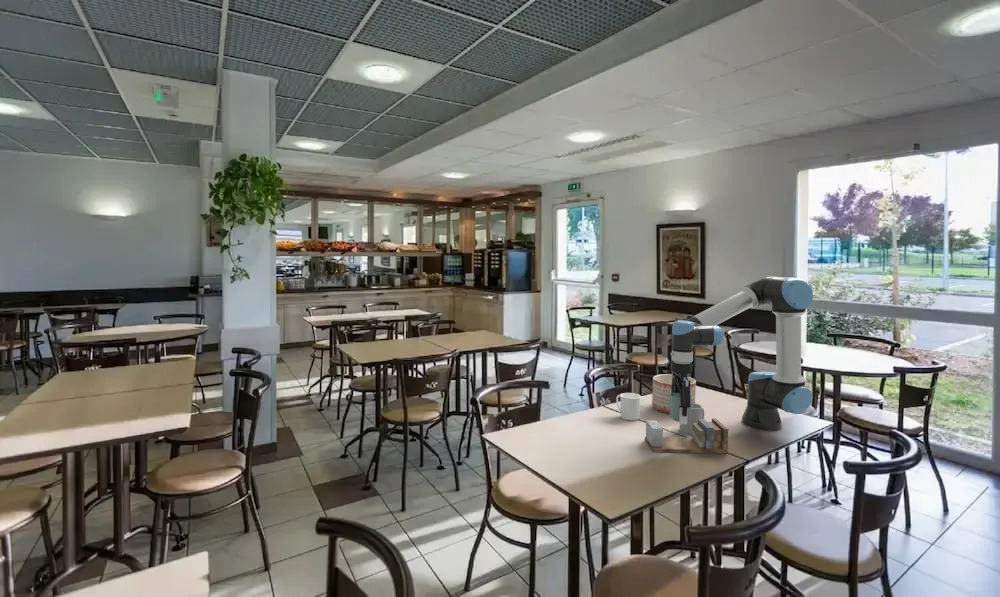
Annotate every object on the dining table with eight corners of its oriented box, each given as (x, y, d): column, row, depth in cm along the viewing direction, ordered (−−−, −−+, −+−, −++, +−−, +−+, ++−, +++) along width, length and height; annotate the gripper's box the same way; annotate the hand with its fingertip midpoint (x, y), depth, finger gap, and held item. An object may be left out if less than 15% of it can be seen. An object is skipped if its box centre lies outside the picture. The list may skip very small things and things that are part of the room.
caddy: (714, 440, 194) (715, 418, 194) (727, 453, 182) (728, 429, 182) (644, 439, 196) (645, 417, 195) (652, 452, 184) (653, 428, 183)
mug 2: (691, 436, 199) (692, 409, 198) (674, 429, 207) (675, 404, 206) (711, 431, 205) (712, 405, 204) (694, 424, 213) (695, 400, 212)
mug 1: (642, 416, 223) (643, 394, 222) (636, 422, 215) (637, 399, 214) (619, 412, 229) (619, 391, 228) (612, 418, 221) (613, 395, 220)
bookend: (655, 437, 194) (656, 420, 193) (662, 446, 185) (663, 428, 184) (645, 437, 194) (646, 420, 193) (651, 446, 185) (652, 428, 184)
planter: (691, 405, 240) (692, 375, 239) (697, 417, 221) (699, 385, 220) (650, 402, 244) (651, 373, 243) (653, 414, 226) (654, 383, 224)
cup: (688, 425, 183) (689, 399, 182) (667, 421, 187) (667, 396, 186) (692, 419, 189) (693, 394, 188) (671, 415, 193) (672, 391, 192)
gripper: (663, 355, 196) (661, 411, 199) (680, 368, 176) (678, 429, 178) (682, 356, 196) (680, 411, 198) (701, 368, 175) (699, 429, 178)
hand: (679, 419), depth 188 cm, fingers closed on cup, 8 cm apart
